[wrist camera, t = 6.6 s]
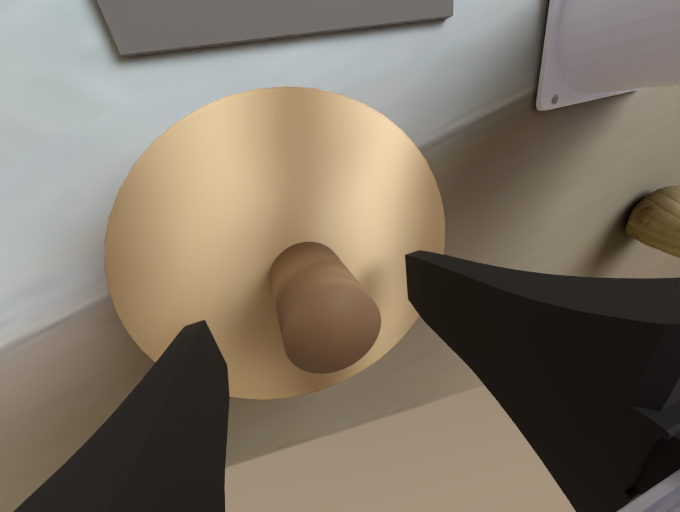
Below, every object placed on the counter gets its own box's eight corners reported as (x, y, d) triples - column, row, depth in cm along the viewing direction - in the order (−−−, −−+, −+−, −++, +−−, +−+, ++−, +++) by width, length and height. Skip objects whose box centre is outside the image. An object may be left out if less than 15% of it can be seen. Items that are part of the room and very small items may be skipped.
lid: (431, 63, 10) (550, 22, 6) (435, 329, 16) (499, 393, 12) (15, 131, 7) (-224, 133, 4) (202, 424, 13) (189, 545, 9)
